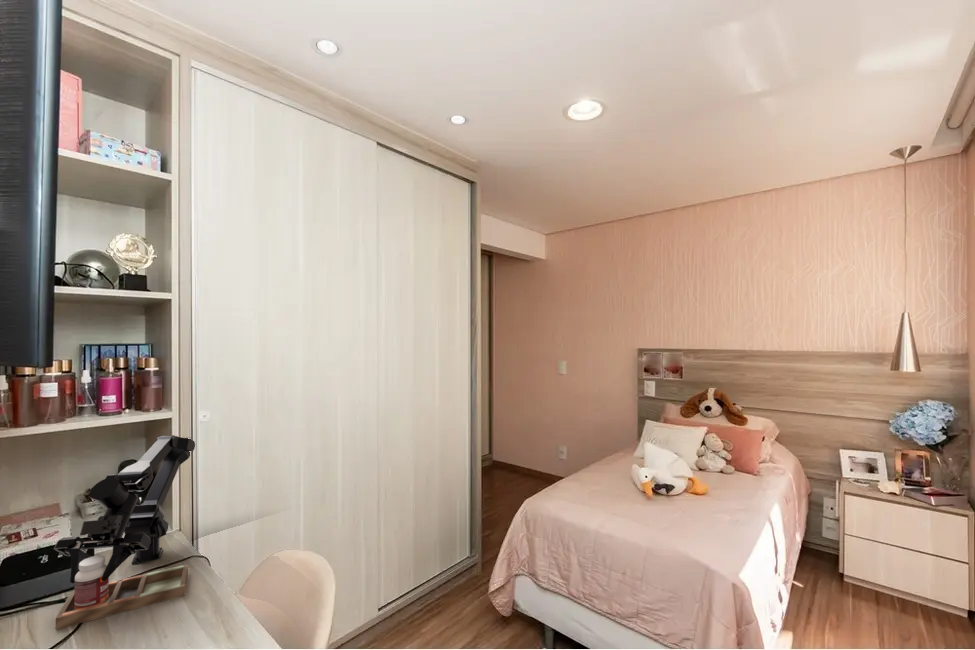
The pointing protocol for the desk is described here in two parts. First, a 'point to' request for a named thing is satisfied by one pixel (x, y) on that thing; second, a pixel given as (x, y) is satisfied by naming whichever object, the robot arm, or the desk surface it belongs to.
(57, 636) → the desk surface
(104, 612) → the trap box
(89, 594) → the pill bottle
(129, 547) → the robot arm
